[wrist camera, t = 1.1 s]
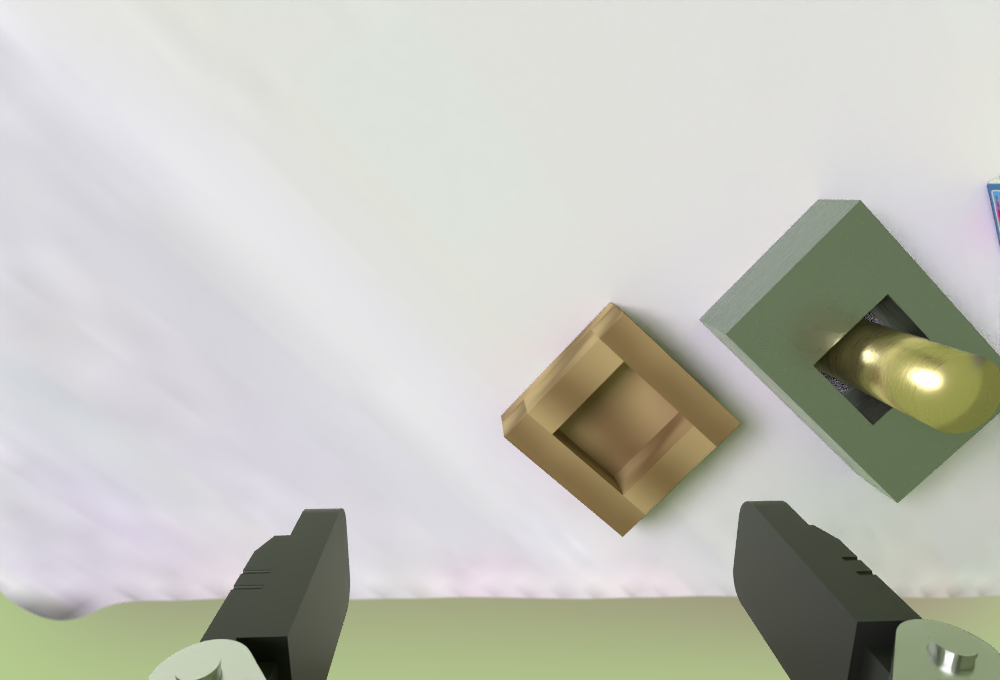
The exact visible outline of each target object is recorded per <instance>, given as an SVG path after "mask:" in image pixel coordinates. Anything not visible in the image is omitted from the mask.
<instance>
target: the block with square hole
mask: <svg viewBox="0 0 1000 680" xmlns="http://www.w3.org/2000/svg"><path fill="white" fill-rule="evenodd" d="M869 311H871V312H872V313H873V314H874V315H875V317H876V318H877V319H878V320H879V321H880V322H881V323H882V324H883V325H884V326H887V327H890V328H893V329H896V330H899V331H903V332H906V333H909V334H912V335H915V336H918V337H922V338H925V339H928V340H931V341H934V342H937V343H941V344H944V345H947V346H950V347H953V348H956V349H959V350H963V351H966V352H969V353H972V354H975V355H978V356H982V357H984V358H987V359H989V360H990V361H991V362H993V363H994V364H995V365H996V366H997V368H998V369H999V371H1000V356H999V355H998V354H997V353H996V352H995V350H994V349H993V348H992V347H991V346H990V345H989V344H988V343H987V342H986V340H985V339H984V338H983V337H982V336H981V335H980V334H979V333H978V331H977V330H976V329H975V328H974V327H973V326H972V325H971V324H970V322H969V321H968V320H967V319H966V318H965V317H964V316H963V315H962V314H961V312H960V311H959V310H958V309H957V308H956V307H955V306H954V305H953V303H952V302H951V301H950V300H949V299H948V298H947V297H946V296H945V294H944V293H943V292H942V291H941V290H940V289H939V288H938V287H937V286H936V284H935V283H934V282H933V281H932V280H931V279H930V278H929V277H928V275H927V274H926V273H925V272H924V271H923V270H922V269H921V268H920V266H919V265H918V264H917V263H916V262H915V261H914V260H913V259H912V257H911V256H910V255H909V254H908V253H907V252H906V251H905V250H904V249H903V247H902V246H901V245H900V244H899V243H898V242H897V241H896V240H895V238H894V237H893V236H892V235H891V234H890V233H889V232H888V231H887V229H886V228H885V227H884V226H883V225H882V224H881V223H880V222H879V221H878V219H877V218H876V217H875V216H874V215H873V214H872V213H871V212H870V210H869V209H868V208H867V207H866V206H865V205H864V204H863V203H862V201H861V200H818V201H817V202H816V203H815V204H814V205H813V206H812V207H811V208H810V209H809V210H808V211H807V212H806V213H805V214H804V215H803V216H802V217H801V218H800V219H799V220H798V221H797V222H796V223H795V224H794V225H793V226H792V227H791V228H790V229H789V230H788V231H787V232H786V233H785V234H784V235H783V236H782V237H781V238H780V239H779V240H778V241H777V242H776V243H775V244H774V245H773V246H772V247H771V248H770V249H769V250H768V251H767V252H766V253H765V254H764V255H763V256H762V257H761V258H760V259H759V260H758V261H757V262H756V263H755V264H754V265H753V266H752V267H751V268H750V269H749V270H748V271H747V272H746V273H745V274H744V275H743V276H742V277H741V278H740V279H739V280H738V281H737V282H736V283H735V284H734V285H733V286H732V287H731V288H730V289H729V290H728V291H727V292H726V293H725V294H724V295H723V296H722V297H721V298H720V299H719V300H718V301H717V302H716V303H715V304H714V305H713V306H712V307H711V308H710V309H709V310H708V312H707V313H706V314H705V315H704V316H703V317H702V318H701V319H700V321H701V322H702V323H703V324H704V325H705V326H706V327H707V328H708V329H709V330H710V331H711V332H712V333H713V334H714V335H715V336H716V337H717V338H718V339H719V340H720V341H721V342H722V343H724V344H725V345H726V346H727V347H728V348H729V349H730V350H731V351H732V352H733V353H734V354H735V355H736V356H737V357H738V358H739V359H740V360H741V361H742V362H743V363H744V364H745V365H746V366H747V367H748V368H749V369H750V370H751V371H752V372H753V373H754V374H755V375H756V376H757V377H758V378H759V379H760V380H761V381H762V382H763V383H765V384H766V385H767V386H768V387H769V388H770V389H771V390H772V391H773V392H774V393H775V394H776V395H777V396H778V397H779V398H780V399H781V400H782V401H783V402H784V403H785V404H786V405H787V406H788V407H789V408H790V409H791V410H792V411H793V412H794V413H795V414H796V415H797V416H798V417H799V418H800V419H801V420H802V421H803V422H804V423H806V424H807V425H808V426H809V427H810V428H811V429H812V430H813V431H814V432H815V433H816V434H817V435H818V436H819V437H820V438H821V439H822V440H823V441H824V442H825V443H826V444H827V445H828V446H829V447H830V448H831V449H832V450H833V451H834V452H835V453H836V454H837V455H838V456H839V457H840V458H841V459H842V460H843V461H844V462H845V463H846V464H848V465H849V466H850V467H851V468H852V469H853V470H854V471H855V472H856V473H857V474H858V475H859V476H861V477H862V478H864V479H865V480H866V481H868V482H869V483H871V484H872V485H873V486H875V487H876V488H877V489H879V490H880V491H882V492H883V493H884V494H886V495H887V496H888V497H890V498H891V499H893V500H894V501H895V502H897V503H898V502H899V501H900V500H902V499H903V498H904V497H905V496H906V495H907V494H908V493H909V492H911V491H912V490H913V489H914V488H915V487H916V486H917V485H918V484H920V483H921V482H922V481H923V480H924V479H925V478H926V477H927V476H929V475H930V474H931V473H932V472H933V471H934V470H935V469H936V468H938V467H939V466H940V465H941V464H942V463H943V462H944V461H945V460H947V459H948V458H949V457H950V456H951V455H952V454H953V453H954V452H956V451H957V450H958V449H959V448H960V447H961V446H962V445H963V444H965V443H966V442H967V441H968V440H969V439H970V438H971V437H972V436H974V435H975V434H976V433H977V432H978V431H979V430H980V429H981V428H983V427H984V426H985V425H986V424H987V423H988V422H989V421H990V420H992V419H993V418H994V417H995V416H996V415H997V414H998V413H999V412H1000V403H999V405H998V407H997V409H996V411H995V412H994V413H993V415H992V416H991V417H990V418H989V419H988V420H987V421H986V422H985V423H983V424H982V425H980V426H979V427H977V428H975V429H973V430H971V431H968V432H965V433H959V434H950V433H945V432H942V431H939V430H937V429H935V428H933V427H931V426H929V425H927V424H925V423H923V422H921V421H919V420H917V419H915V418H913V417H911V416H909V415H907V414H905V413H903V412H901V411H899V410H897V409H895V408H893V407H891V406H889V405H887V404H885V403H883V402H881V401H879V400H877V399H875V398H873V397H871V396H869V395H867V394H866V393H864V392H862V391H860V390H858V389H856V388H854V387H852V386H851V387H850V388H849V389H848V390H847V391H845V392H844V393H843V394H841V393H840V392H839V391H838V390H837V389H836V388H835V387H834V386H833V385H832V384H831V383H830V382H829V381H828V380H827V379H826V378H825V377H824V376H823V375H822V374H821V373H820V372H819V371H818V370H817V369H816V368H815V367H814V366H813V365H814V364H815V363H816V362H817V361H818V360H819V359H820V358H821V357H822V356H823V355H824V354H825V353H826V352H828V351H829V350H830V349H831V348H832V347H833V346H834V345H835V344H836V343H837V342H838V341H839V340H840V339H841V338H842V337H843V336H844V335H845V334H846V333H847V332H848V331H849V330H851V329H852V328H853V327H854V326H855V325H856V324H857V323H858V322H859V321H860V320H861V319H862V318H863V317H864V316H865V315H866V314H867V313H868V312H869Z"/></svg>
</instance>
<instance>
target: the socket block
mask: <svg viewBox="0 0 1000 680" xmlns="http://www.w3.org/2000/svg"><path fill="white" fill-rule="evenodd" d="M501 417H502V424H503V432H504V437H505V438H506V439H507V440H508V441H509V442H510V443H512V444H513V445H514V446H515V447H516V448H518V449H519V450H520V451H521V452H522V453H524V454H525V455H526V456H527V457H528V458H530V459H531V460H532V461H533V462H534V463H535V464H537V465H538V466H539V467H540V468H541V469H543V470H544V471H545V472H546V473H547V474H549V475H550V476H551V477H552V478H553V479H555V480H556V481H557V482H558V483H559V484H560V485H562V486H563V487H564V488H565V489H566V490H568V491H569V492H570V493H571V494H572V495H574V496H575V497H576V498H577V499H578V500H580V501H581V502H582V503H583V504H584V505H585V506H587V507H588V508H589V509H590V510H591V511H593V512H594V513H595V514H596V515H597V516H599V517H600V518H601V519H602V520H603V521H605V522H606V523H607V524H608V525H609V526H610V527H612V528H613V529H614V530H615V531H616V532H618V533H619V534H620V535H621V536H622V537H623V536H624V535H625V534H626V533H627V532H628V531H629V530H630V529H631V528H632V527H633V526H635V525H636V524H637V523H638V522H639V521H640V520H641V519H642V518H643V517H644V516H645V515H646V514H647V513H648V512H649V511H650V510H651V509H652V508H653V507H654V506H655V505H656V504H657V503H658V502H660V501H661V500H662V499H663V498H664V497H665V496H666V495H667V494H668V493H669V492H670V491H671V490H672V489H673V488H674V487H675V486H676V485H677V484H678V483H679V482H680V481H681V480H682V479H683V478H685V477H686V476H687V475H688V474H689V473H690V472H691V471H692V470H693V469H694V468H695V467H696V466H697V465H698V464H699V463H700V462H701V461H702V460H703V459H704V458H705V457H706V456H707V455H708V454H710V453H711V452H712V451H713V450H714V449H715V448H716V447H717V446H718V445H719V444H720V443H721V442H722V441H723V440H724V439H725V438H726V437H727V436H728V435H729V434H730V433H731V432H732V431H733V430H735V429H736V428H737V427H738V426H739V425H740V424H741V423H740V422H739V421H738V420H737V419H736V418H735V417H734V416H733V415H732V414H731V413H729V412H728V411H727V410H726V409H725V408H724V407H723V406H722V405H721V404H720V403H719V402H718V401H717V400H716V399H715V398H714V397H713V396H711V395H710V394H709V393H708V392H707V391H706V390H705V389H704V388H703V387H702V386H701V385H700V384H699V383H698V382H697V381H696V380H695V379H693V378H692V377H691V376H690V375H689V374H688V373H687V372H686V371H685V370H684V369H683V368H682V367H681V366H680V365H679V364H678V363H677V362H675V361H674V360H673V359H672V358H671V357H670V356H669V355H668V354H667V353H666V352H665V351H664V350H663V349H662V348H661V347H660V346H659V345H657V344H656V343H655V342H654V341H653V340H652V339H651V338H650V337H649V336H648V335H647V334H646V333H645V332H644V331H643V330H642V329H641V328H640V327H638V326H637V325H636V324H635V323H634V322H633V321H632V320H631V319H630V318H629V317H628V316H627V315H626V314H625V313H623V312H622V311H621V310H620V309H618V308H617V307H616V306H614V305H613V304H612V303H611V302H610V303H609V304H608V305H607V306H606V307H605V308H604V309H603V310H602V311H601V312H600V313H599V314H598V315H597V317H596V318H595V319H594V320H593V321H592V322H591V323H590V324H589V325H588V326H587V327H586V328H585V329H584V330H583V331H582V332H581V333H580V334H579V335H578V336H577V337H576V338H575V339H574V341H573V342H572V343H571V344H570V345H569V346H568V347H567V348H566V349H565V350H564V351H563V352H562V353H561V354H560V355H559V356H558V357H557V358H556V359H555V360H554V361H553V362H552V364H551V365H550V366H549V367H548V368H547V369H546V370H545V371H544V372H543V373H542V374H541V375H540V376H539V377H538V378H537V379H536V380H535V381H534V382H533V383H532V384H531V385H530V386H529V388H528V389H527V390H526V391H525V392H524V393H523V394H522V395H521V396H520V397H519V398H518V399H517V400H516V401H515V402H514V403H513V404H512V405H511V406H510V407H509V408H508V409H507V410H506V412H505V413H504V414H503V415H502V416H501Z"/></svg>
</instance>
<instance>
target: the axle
mask: <svg viewBox="0 0 1000 680" xmlns="http://www.w3.org/2000/svg"><path fill="white" fill-rule="evenodd" d="M814 366H815V367H816V368H817V369H819V370H820V371H822V372H824V373H826V374H828V375H830V376H832V377H834V378H836V379H838V380H840V381H842V382H844V383H846V384H848V385H850V386H852V387H854V388H856V389H858V390H860V391H862V392H864V393H866V394H867V395H869V396H871V397H873V398H875V399H877V400H879V401H881V402H883V403H885V404H887V405H889V406H891V407H893V408H895V409H897V410H899V411H901V412H903V413H905V414H907V415H909V416H911V417H913V418H915V419H917V420H919V421H921V422H923V423H925V424H927V425H929V426H931V427H933V428H935V429H937V430H939V431H942V432H945V433H950V434H959V433H965V432H968V431H971V430H973V429H975V428H977V427H979V426H980V425H982V424H983V423H985V422H986V421H987V420H988V419H989V418H990V417H991V416H992V415H993V413H994V412H995V411H996V409H997V407H998V405H999V403H1000V371H999V369H998V368H997V366H996V365H995V364H994V363H993V362H991V361H990V360H989V359H987V358H984V357H982V356H978V355H975V354H972V353H969V352H966V351H963V350H959V349H956V348H953V347H950V346H947V345H944V344H941V343H937V342H934V341H931V340H928V339H925V338H922V337H918V336H915V335H912V334H909V333H906V332H903V331H899V330H896V329H893V328H890V327H887V326H884V325H880V324H877V323H874V322H871V321H868V320H865V319H861V320H860V321H859V322H858V323H857V324H856V325H855V326H854V327H853V328H852V329H851V330H849V331H848V332H847V333H846V334H845V335H844V336H843V337H842V338H841V339H840V340H839V341H838V342H837V343H836V344H835V345H834V346H833V347H832V348H831V349H830V350H829V351H828V352H826V353H825V354H824V355H823V356H822V357H821V358H820V359H819V360H818V361H817V362H816V363H815V364H814Z"/></svg>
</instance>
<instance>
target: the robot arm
mask: <svg viewBox="0 0 1000 680" xmlns="http://www.w3.org/2000/svg"><path fill="white" fill-rule="evenodd" d="M733 577H734V585H735V589H736V593H737V596H738V598H739V600H740V602H741V604H742V606H743V607H744V609H745V610H746V612H747V613H748V615H749V616H750V618H751V619H752V621H753V622H754V624H755V625H756V627H757V628H758V630H759V632H760V633H761V635H762V636H763V638H764V639H765V641H766V643H767V644H768V646H769V647H770V648H771V650H772V652H773V653H774V655H775V656H776V658H777V659H778V661H779V663H780V664H781V665H782V667H783V669H784V670H785V672H786V673H787V675H788V676H789V678H790V679H791V680H1000V653H999V652H998V651H997V650H996V649H994V648H993V647H992V646H991V645H990V644H988V643H987V642H985V641H984V640H982V639H981V638H979V637H977V636H975V635H973V634H972V633H970V632H968V631H965V630H963V629H961V628H958V627H956V626H953V625H950V624H947V623H943V622H939V621H934V620H927V619H922V618H921V617H920V616H919V615H918V614H917V613H916V612H914V611H913V610H912V609H911V608H910V607H909V606H908V605H907V604H906V603H905V602H904V601H903V600H902V599H901V598H900V597H899V596H898V595H897V594H896V593H895V592H894V591H892V590H891V589H890V588H889V587H888V586H887V585H886V584H885V583H884V582H883V581H882V580H881V579H880V578H879V577H878V576H877V575H873V574H872V571H871V570H870V569H869V568H868V567H867V566H866V565H865V564H864V563H863V562H862V561H861V560H857V556H856V555H855V554H854V553H853V552H852V551H851V550H849V549H848V548H847V547H846V546H845V545H844V544H843V543H842V542H841V541H840V540H839V539H837V538H835V537H834V536H832V535H830V534H828V533H827V532H825V531H823V530H821V529H819V528H818V527H816V526H814V525H808V524H807V523H806V522H805V521H804V520H803V519H802V518H801V517H800V516H799V515H798V514H797V513H796V512H795V511H794V510H793V509H792V508H791V507H790V506H789V505H788V504H787V503H786V502H784V501H747V502H744V503H743V505H742V506H741V509H740V513H739V522H738V531H737V540H736V549H735V558H734V567H733ZM349 593H350V572H349V557H348V542H347V527H346V516H345V512H344V510H343V509H305V510H304V511H303V512H302V514H301V516H300V518H299V520H298V522H297V523H296V525H295V527H294V529H293V531H292V533H291V535H286V536H274V537H273V538H271V539H270V540H269V541H268V542H266V543H265V544H264V545H262V546H261V547H260V548H259V549H257V550H256V551H255V552H254V553H253V555H252V557H251V558H250V560H249V562H248V563H247V565H246V566H245V568H244V570H243V574H241V575H240V576H239V578H238V580H237V581H236V583H235V585H234V589H233V590H231V591H230V593H229V595H228V596H227V598H226V600H225V601H224V603H223V605H222V606H221V608H220V610H219V611H218V613H217V614H216V616H215V618H214V619H213V621H212V623H211V624H210V626H209V628H208V629H207V631H206V633H205V634H204V636H203V638H202V639H201V641H200V642H199V643H196V644H194V645H190V646H188V647H186V648H184V649H182V650H180V651H178V652H176V653H174V654H173V655H171V656H170V657H168V658H167V659H165V660H164V661H163V662H162V663H161V664H160V665H158V666H157V667H156V668H155V670H154V671H153V672H152V673H151V674H150V676H149V677H148V679H147V680H326V679H327V676H328V672H329V669H330V666H331V662H332V659H333V656H334V652H335V649H336V646H337V642H338V639H339V636H340V632H341V629H342V626H343V622H344V619H345V616H346V612H347V608H348V602H349Z"/></svg>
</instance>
